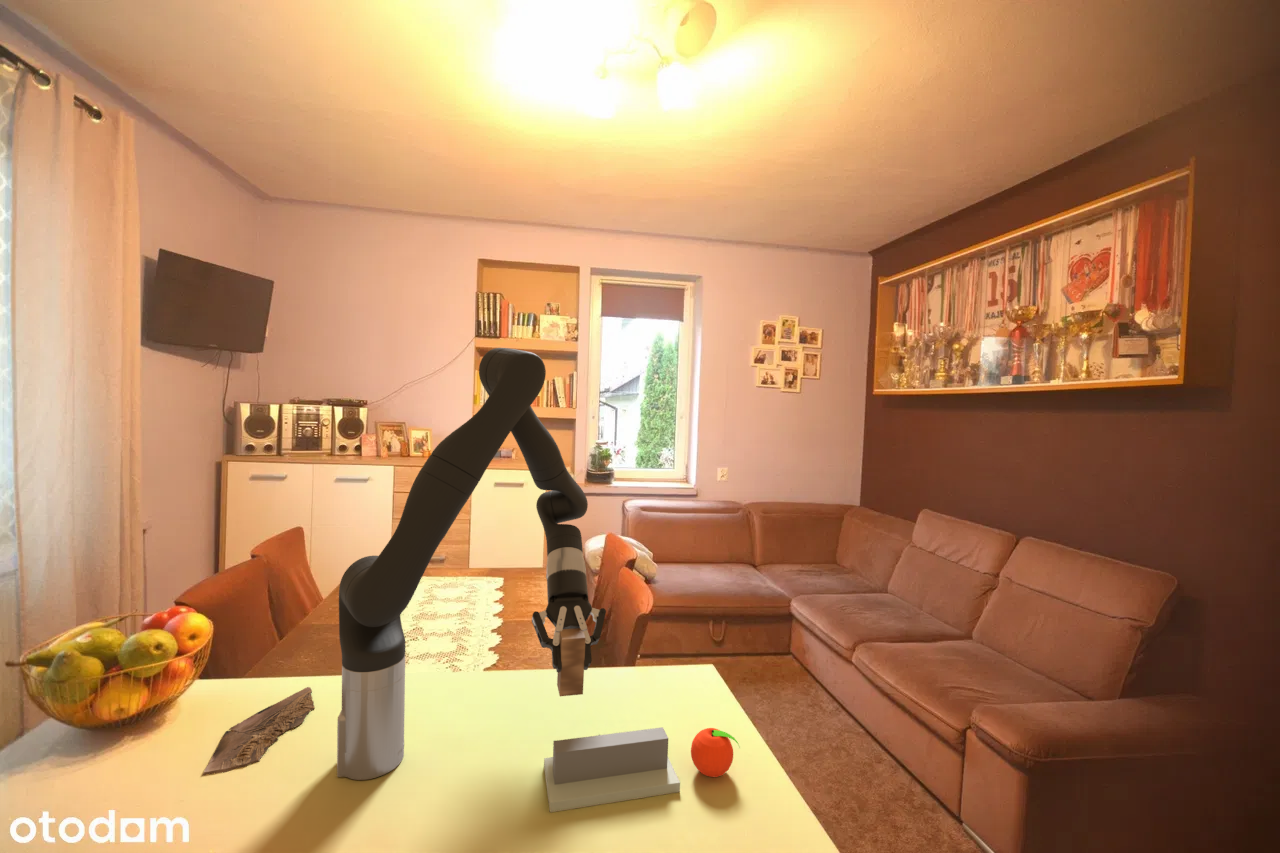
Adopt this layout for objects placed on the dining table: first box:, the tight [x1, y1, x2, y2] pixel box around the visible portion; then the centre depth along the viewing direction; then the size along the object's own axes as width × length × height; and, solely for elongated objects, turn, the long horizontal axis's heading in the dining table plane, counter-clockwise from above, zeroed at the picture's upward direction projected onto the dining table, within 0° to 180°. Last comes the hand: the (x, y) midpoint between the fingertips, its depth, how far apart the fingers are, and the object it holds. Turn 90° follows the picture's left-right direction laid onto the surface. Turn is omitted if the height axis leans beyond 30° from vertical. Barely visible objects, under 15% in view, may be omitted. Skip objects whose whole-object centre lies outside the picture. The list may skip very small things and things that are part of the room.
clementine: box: [690, 727, 741, 778], centre depth 89 cm, size 8×7×7 cm
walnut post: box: [556, 628, 585, 697], centre depth 96 cm, size 4×4×10 cm
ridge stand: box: [543, 727, 681, 813], centre depth 87 cm, size 20×10×6 cm, turn 105°
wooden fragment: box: [202, 686, 316, 776], centre depth 97 cm, size 26×11×1 cm, turn 176°
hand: (572, 669), depth 94 cm, fingers closed on walnut post, 4 cm apart
